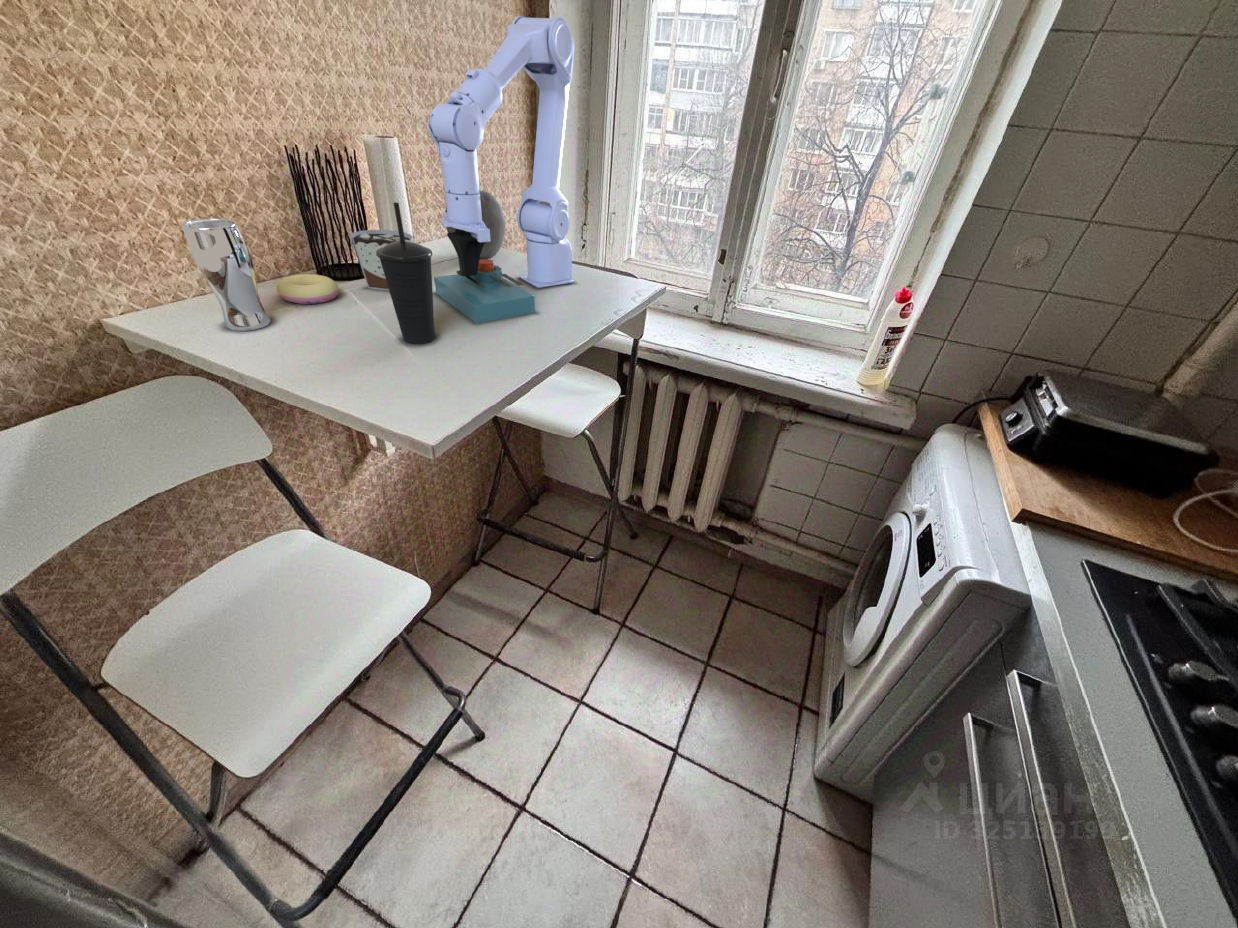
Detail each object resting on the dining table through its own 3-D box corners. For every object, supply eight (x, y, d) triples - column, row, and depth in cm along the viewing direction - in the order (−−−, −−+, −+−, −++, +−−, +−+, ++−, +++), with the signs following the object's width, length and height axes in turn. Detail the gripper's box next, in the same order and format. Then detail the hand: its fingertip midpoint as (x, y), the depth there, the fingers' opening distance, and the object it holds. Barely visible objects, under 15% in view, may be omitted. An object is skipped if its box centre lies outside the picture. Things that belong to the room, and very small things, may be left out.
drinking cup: (416, 353, 75) (390, 210, 64) (384, 339, 78) (353, 201, 66) (454, 338, 81) (436, 205, 69) (422, 326, 84) (400, 196, 72)
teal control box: (491, 285, 104) (489, 261, 101) (535, 312, 93) (534, 286, 90) (436, 293, 97) (432, 267, 94) (476, 323, 87) (473, 295, 84)
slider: (470, 271, 93) (469, 257, 91) (475, 274, 92) (474, 260, 90) (456, 273, 91) (455, 259, 90) (461, 276, 90) (459, 261, 89)
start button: (489, 267, 99) (488, 258, 98) (497, 272, 97) (496, 262, 96) (474, 269, 97) (474, 260, 96) (482, 273, 95) (481, 264, 94)
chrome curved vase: (284, 321, 81) (250, 223, 72) (245, 335, 76) (203, 231, 66) (251, 313, 82) (214, 216, 73) (211, 326, 77) (166, 223, 68)
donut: (311, 298, 96) (268, 305, 88) (303, 273, 94) (259, 278, 86) (352, 298, 93) (312, 306, 85) (345, 272, 91) (304, 278, 83)
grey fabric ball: (519, 262, 120) (516, 193, 111) (467, 269, 111) (459, 196, 102) (489, 248, 127) (484, 183, 118) (438, 254, 119) (428, 185, 110)
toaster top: (496, 269, 97) (496, 269, 97) (523, 284, 91) (523, 284, 90) (453, 274, 92) (453, 274, 92) (479, 291, 86) (479, 291, 86)
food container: (433, 285, 101) (426, 233, 95) (421, 294, 96) (412, 240, 90) (376, 278, 101) (365, 226, 95) (360, 287, 97) (348, 233, 91)
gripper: (422, 185, 84) (433, 266, 92) (458, 201, 76) (467, 289, 84) (460, 184, 88) (468, 262, 96) (499, 199, 79) (504, 283, 88)
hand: (470, 274), depth 90 cm, fingers closed
